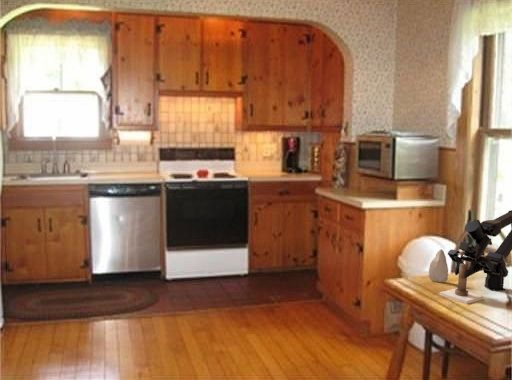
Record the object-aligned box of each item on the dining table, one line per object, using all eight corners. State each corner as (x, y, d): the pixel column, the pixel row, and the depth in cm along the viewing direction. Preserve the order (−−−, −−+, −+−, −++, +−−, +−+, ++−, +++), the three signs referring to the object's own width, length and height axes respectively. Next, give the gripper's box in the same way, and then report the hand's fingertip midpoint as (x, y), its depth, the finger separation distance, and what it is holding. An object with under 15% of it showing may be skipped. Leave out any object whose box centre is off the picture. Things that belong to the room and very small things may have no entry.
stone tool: (447, 281, 246) (449, 249, 244) (447, 283, 243) (449, 250, 241) (428, 279, 249) (429, 247, 247) (427, 281, 246) (429, 248, 244)
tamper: (460, 291, 227) (462, 262, 226) (470, 294, 223) (472, 265, 222) (452, 293, 224) (454, 263, 223) (462, 296, 220) (465, 266, 219)
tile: (456, 290, 232) (456, 288, 232) (483, 299, 221) (483, 296, 221) (439, 295, 226) (439, 292, 226) (466, 304, 215) (466, 301, 215)
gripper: (451, 230, 230) (433, 259, 226) (491, 238, 215) (472, 269, 210) (462, 246, 235) (444, 274, 231) (501, 255, 220) (483, 286, 215)
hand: (460, 276), depth 222 cm, fingers open, 4 cm apart
